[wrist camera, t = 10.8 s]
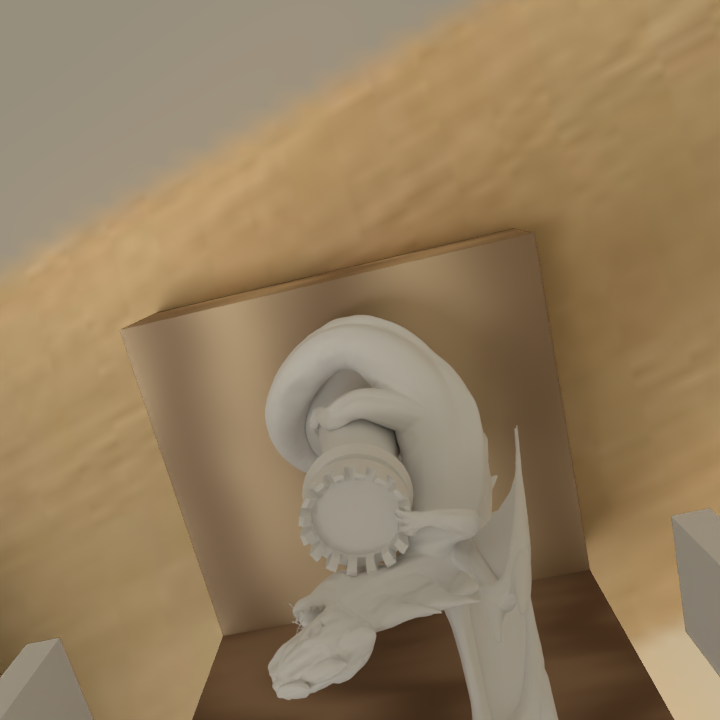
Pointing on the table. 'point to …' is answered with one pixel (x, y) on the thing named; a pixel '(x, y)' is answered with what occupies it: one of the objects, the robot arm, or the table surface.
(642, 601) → the table surface
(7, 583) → the table surface
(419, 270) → the wall shelf
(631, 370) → the table surface
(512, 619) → the figurine
